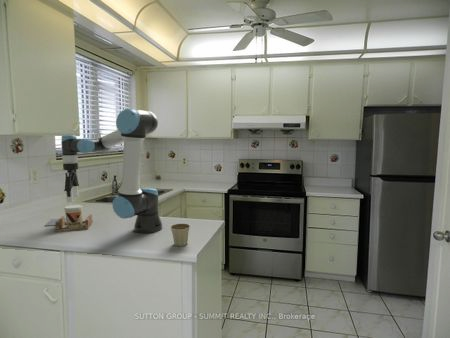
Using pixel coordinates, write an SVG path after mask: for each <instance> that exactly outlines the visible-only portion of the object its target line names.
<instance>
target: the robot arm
mask: <svg viewBox="0 0 450 338" xmlns="http://www.w3.org/2000/svg"><path fill="white" fill-rule="evenodd" d="M158 125H159V122H158V117H157V116H156V115H155V113H154V112H153V111H150V110H144V109H143V110H142V109H134V108H125V109H123V110H121V111H120V113H118V115H117V116H116V120H115V126H116V128H117V129H116V130H115V131H112V132H110V133H107V134H105V135H103V136H101V137H98V138H77V135H75V134H64V135H61V154H62V157H61V158H62V170H63V171H67V172H65V174H64V175H65V180H64V181H65V183H64V190H63V191H64V192H65V193H66V194H65V197H66V203H67V204H69V203H73V198H79V188H78V187H79V186H80V184H79V179H78V174H77V170H79V163H78V159H79V156H78V153H83V154H88V153H95V152H108V151H110V150H111V149H112V148H113V147H116V146H118V145H120V144H122V143H123V151H122V170H121V171H122V174H121V175H122V176H121V188H119V189H118V191H117V196H116V197H115V198H114V199H112V209H113V212H114V213H115V215H116V216H117V217H119V218H121V219H123V220H124V219H129V218H133V217H135V216H136V218H135V222H134V225H133V226H134V227H133V229H134V232H136V233H138V234H139V233H141V234H149V233H151V234H152V233H156V232H159V231H161V230H162V229H163V223H162V220H161V218H160V213H159V193H158V189H157V188H154V187H141V186H140V184H141V169H142V168H141V167H142V164H141V163H142V153H143V150H142V149H143V141H144V140H145V139H146V137H147V135H150V134H151V133H154V132H155V131H156V130H157V128H158Z"/></svg>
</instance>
